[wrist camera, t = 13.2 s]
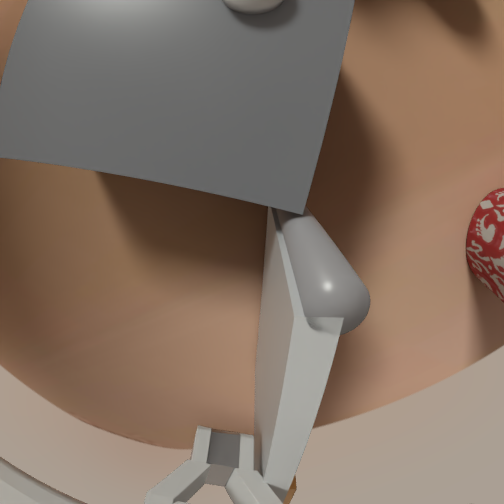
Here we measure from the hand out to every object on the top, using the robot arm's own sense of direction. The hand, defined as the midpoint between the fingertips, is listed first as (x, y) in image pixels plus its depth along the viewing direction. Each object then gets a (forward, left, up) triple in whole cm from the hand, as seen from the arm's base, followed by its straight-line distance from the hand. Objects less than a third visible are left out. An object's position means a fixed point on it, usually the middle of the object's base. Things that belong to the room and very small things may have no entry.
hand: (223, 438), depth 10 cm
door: (+2, +2, -9) cm, 10 cm away
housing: (-5, +12, -10) cm, 17 cm away
